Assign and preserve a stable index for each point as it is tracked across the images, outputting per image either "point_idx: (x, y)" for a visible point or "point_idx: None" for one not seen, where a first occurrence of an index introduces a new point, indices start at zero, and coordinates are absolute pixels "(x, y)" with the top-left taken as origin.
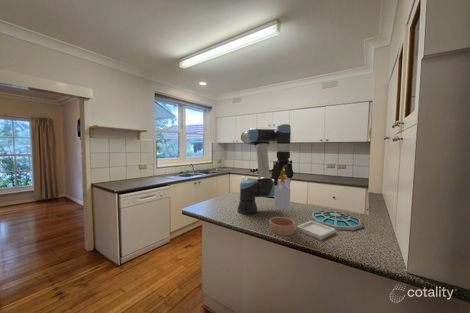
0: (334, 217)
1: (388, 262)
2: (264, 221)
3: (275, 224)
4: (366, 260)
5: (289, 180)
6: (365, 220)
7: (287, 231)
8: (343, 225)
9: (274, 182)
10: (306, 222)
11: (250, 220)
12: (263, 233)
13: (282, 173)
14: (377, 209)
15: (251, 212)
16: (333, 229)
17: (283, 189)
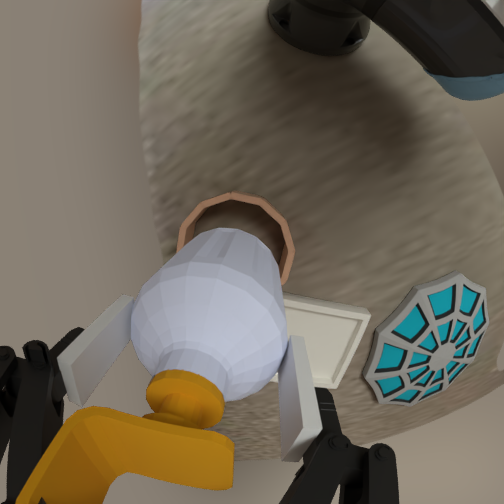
0: (423, 360)
1: (251, 452)
2: (264, 137)
3: (180, 249)
4: (230, 435)
5: (282, 440)
6: (457, 385)
7: None
8: (385, 386)
9: (59, 346)
10: (339, 309)
11: (227, 86)
12: (156, 208)
13: (92, 490)
14: None
15: (297, 44)
16: (328, 386)
17: (152, 376)
